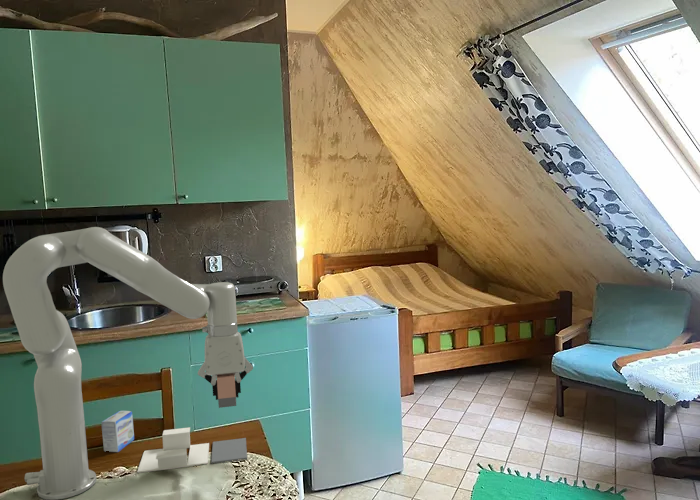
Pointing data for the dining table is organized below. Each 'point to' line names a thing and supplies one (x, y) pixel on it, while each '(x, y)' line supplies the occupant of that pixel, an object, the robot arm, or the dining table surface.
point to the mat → (229, 450)
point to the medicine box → (117, 431)
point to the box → (226, 390)
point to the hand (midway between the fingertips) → (227, 396)
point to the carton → (174, 452)
